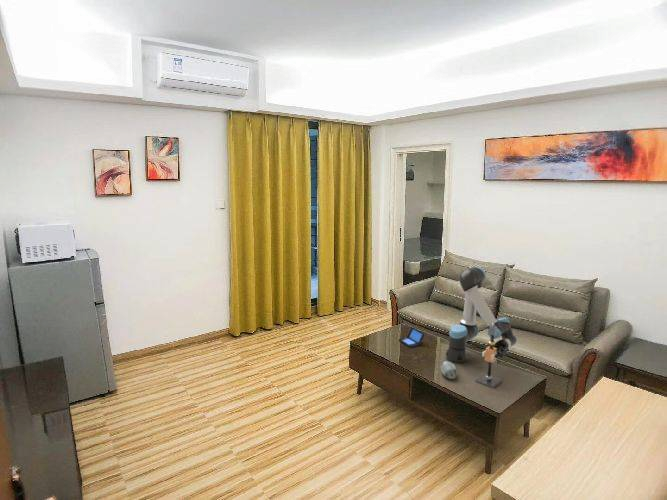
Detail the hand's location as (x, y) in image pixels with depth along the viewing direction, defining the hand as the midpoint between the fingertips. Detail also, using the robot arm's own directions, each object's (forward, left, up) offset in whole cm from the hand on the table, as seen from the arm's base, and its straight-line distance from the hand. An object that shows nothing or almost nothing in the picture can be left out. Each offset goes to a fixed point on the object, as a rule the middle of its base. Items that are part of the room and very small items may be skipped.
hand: (487, 356), depth 253 cm
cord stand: (0, +5, -19) cm, 20 cm away
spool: (-22, -6, -19) cm, 30 cm away
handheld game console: (-68, +20, -20) cm, 74 cm away
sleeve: (0, +5, -5) cm, 7 cm away
